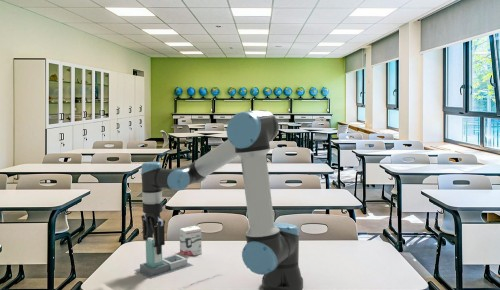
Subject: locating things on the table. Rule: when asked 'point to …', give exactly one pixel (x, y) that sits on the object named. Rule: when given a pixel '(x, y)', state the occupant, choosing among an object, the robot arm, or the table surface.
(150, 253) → the plug
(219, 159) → the robot arm
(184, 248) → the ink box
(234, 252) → the table surface
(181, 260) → the panel
